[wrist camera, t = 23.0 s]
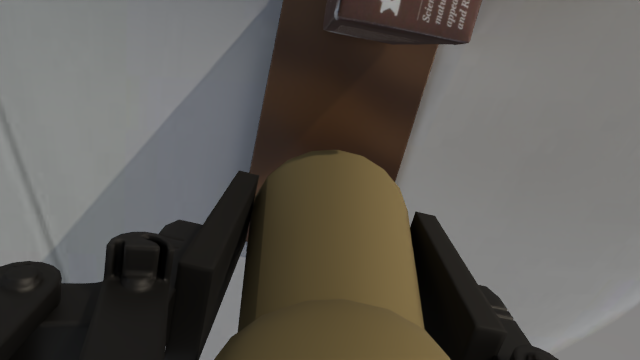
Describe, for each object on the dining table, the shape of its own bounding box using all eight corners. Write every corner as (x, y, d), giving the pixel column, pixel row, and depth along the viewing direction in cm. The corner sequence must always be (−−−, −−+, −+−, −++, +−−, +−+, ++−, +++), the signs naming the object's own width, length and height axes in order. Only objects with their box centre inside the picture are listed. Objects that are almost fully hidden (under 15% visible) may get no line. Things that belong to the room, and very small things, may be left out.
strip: (366, 265, 28) (367, 268, 28) (237, 236, 28) (236, 239, 27) (496, -144, 21) (499, -147, 20) (322, -195, 20) (322, -200, 20)
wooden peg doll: (434, 252, 16) (636, 636, 6) (302, 317, 17) (265, 744, 7) (360, 118, 14) (449, 311, 4) (219, 199, 16) (-2, 519, 5)
